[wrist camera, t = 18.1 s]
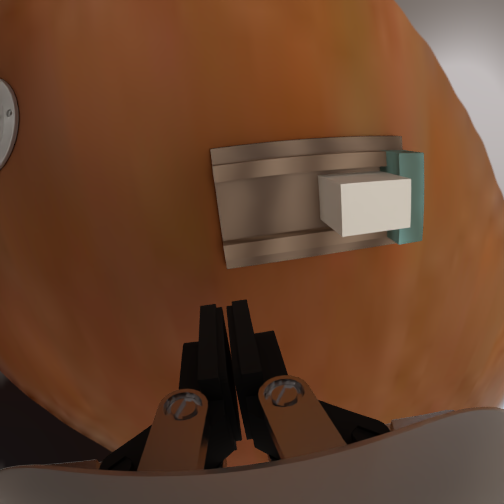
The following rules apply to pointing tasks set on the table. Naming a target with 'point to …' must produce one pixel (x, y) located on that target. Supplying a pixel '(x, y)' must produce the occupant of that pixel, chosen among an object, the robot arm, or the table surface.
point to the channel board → (302, 195)
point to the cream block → (365, 202)
